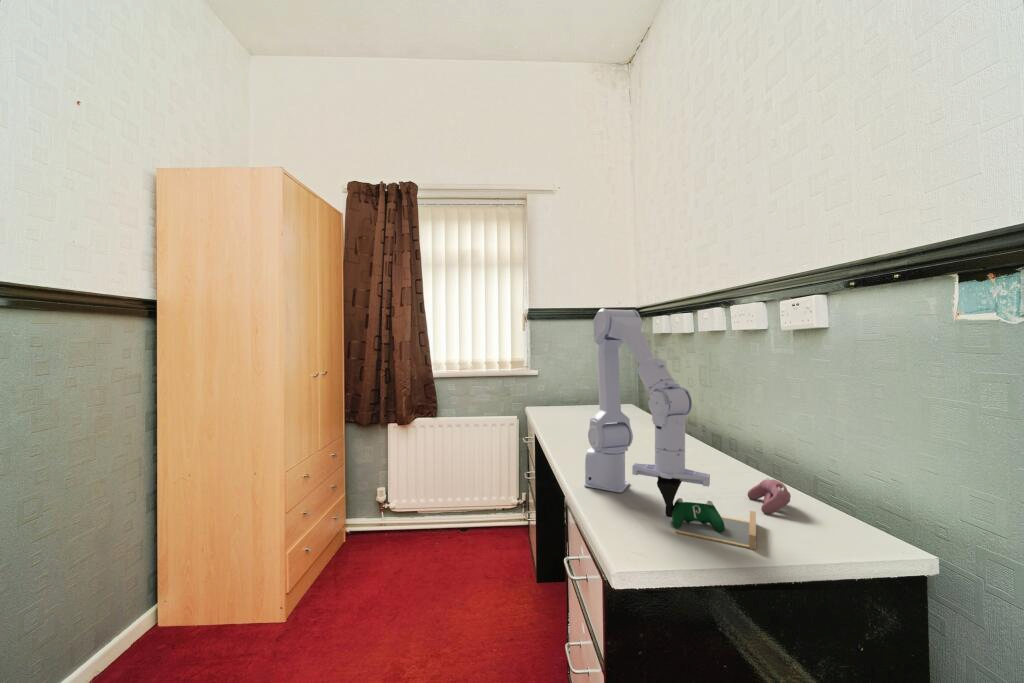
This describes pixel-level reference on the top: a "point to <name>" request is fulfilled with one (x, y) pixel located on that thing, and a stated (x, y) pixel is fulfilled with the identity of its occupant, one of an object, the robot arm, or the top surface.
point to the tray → (725, 531)
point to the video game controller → (770, 495)
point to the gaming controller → (696, 514)
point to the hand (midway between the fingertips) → (669, 515)
